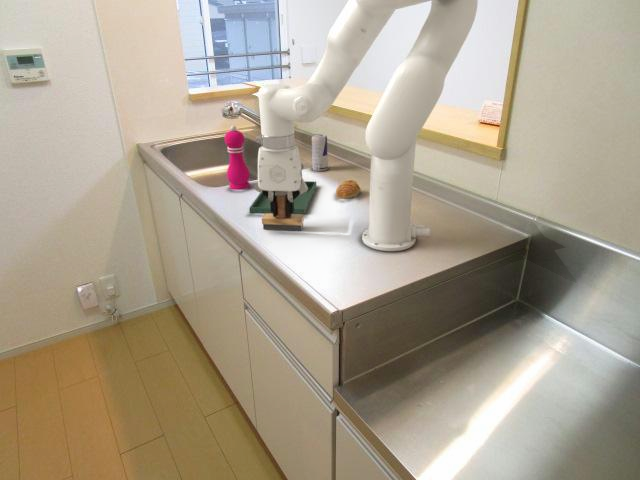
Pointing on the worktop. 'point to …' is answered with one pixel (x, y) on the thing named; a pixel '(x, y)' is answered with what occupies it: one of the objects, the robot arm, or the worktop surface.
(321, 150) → the energy drink
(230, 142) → the pepper mill
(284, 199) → the brush
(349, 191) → the pastry
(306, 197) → the tray
